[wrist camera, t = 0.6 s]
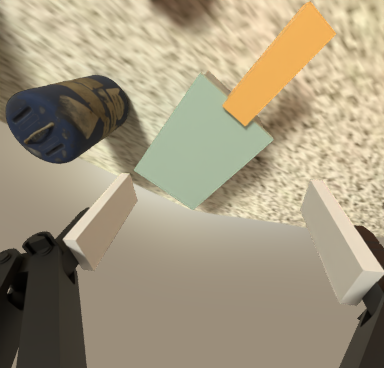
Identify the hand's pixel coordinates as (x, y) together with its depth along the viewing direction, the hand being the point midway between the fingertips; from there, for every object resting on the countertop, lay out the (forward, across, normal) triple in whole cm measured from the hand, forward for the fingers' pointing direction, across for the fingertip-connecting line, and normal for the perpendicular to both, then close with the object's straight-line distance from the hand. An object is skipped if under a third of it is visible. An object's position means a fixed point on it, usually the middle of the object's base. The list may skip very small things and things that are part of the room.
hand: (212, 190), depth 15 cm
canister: (+25, -22, +2) cm, 34 cm away
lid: (+16, 0, -1) cm, 16 cm away
